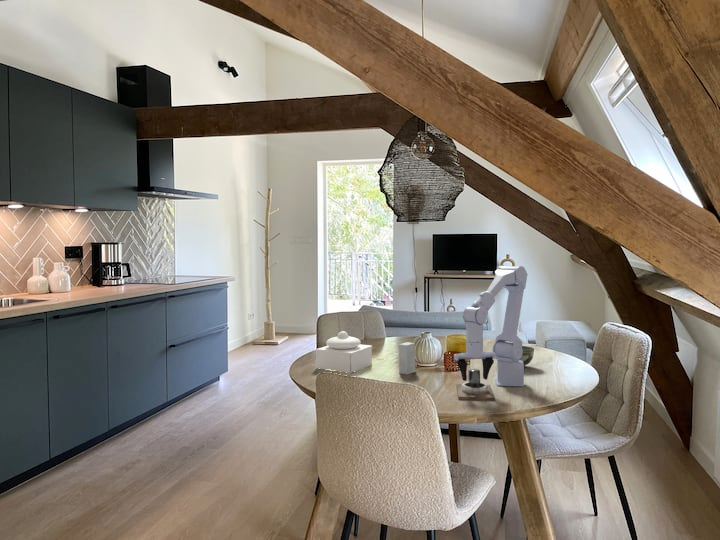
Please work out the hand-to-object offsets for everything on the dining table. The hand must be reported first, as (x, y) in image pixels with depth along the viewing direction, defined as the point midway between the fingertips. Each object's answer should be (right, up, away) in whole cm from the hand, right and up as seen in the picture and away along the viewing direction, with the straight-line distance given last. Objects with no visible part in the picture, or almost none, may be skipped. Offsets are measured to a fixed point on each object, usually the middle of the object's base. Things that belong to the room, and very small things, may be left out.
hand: (474, 379), depth 188 cm
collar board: (0, -5, 0) cm, 5 cm away
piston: (0, -4, 0) cm, 4 cm away
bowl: (+26, -3, +39) cm, 47 cm away
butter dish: (-47, -4, +42) cm, 63 cm away
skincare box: (-21, -4, +31) cm, 38 cm away
